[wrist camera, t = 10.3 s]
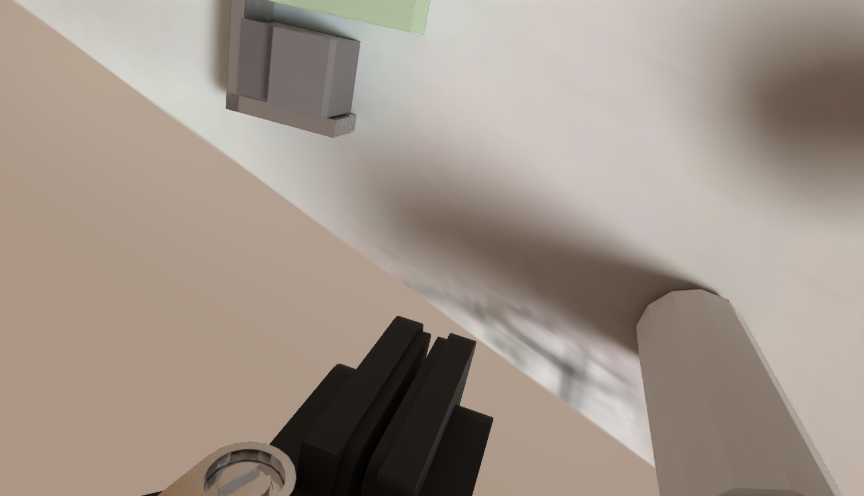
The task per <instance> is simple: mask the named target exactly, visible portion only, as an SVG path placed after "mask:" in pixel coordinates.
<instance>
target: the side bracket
mask: <svg viewBox="0 0 864 496" xmlns="http://www.w3.org/2000/svg"><path fill="white" fill-rule="evenodd" d="M272 14H273V1H268V0H232V1H231V20H230V39H229V58H228V77H227V96H226V109H229V110H233V111H236V112H240V113H244V114H247V115H251V116H255V117H259V118H262V119H266V120H270V121H273V122H277V123H281V124H285V125H288V126H292V127H296V128H299V129H303V130H307V131H310V132H314V133H318V134H322V135H325V136H329V137H333V138H334V137H337V136H340V135H344V134H347V133H350V132H353V131H354V127H355V120H356V115H353V114H350V113H346V114H341V115H337V116H333V117H328V118H324V119H318V118H314V117H310V116H307V115H303V114H299V113H295V112H291V111H288V110H284V109H280V108H276V107H273V106H269V105H267V102H266V101H262V100H258V99H254V98H251V97H247V96H243V95H239V94H237V82H238V66H239V50H240V34H241V18H247V19H256V20H265V21H272Z"/></svg>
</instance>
